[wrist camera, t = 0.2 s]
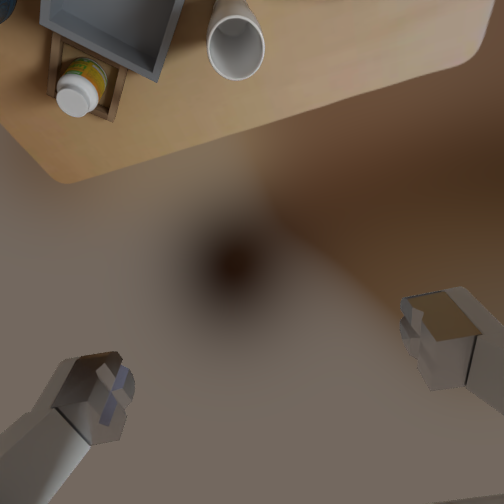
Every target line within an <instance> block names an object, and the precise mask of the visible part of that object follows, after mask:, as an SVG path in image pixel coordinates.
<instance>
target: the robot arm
mask: <svg viewBox="0 0 504 504" xmlns="http://www.w3.org/2000/svg"><path fill="white" fill-rule="evenodd" d="M400 309H401V311H402V312H403V314H404V317H403V318H402V319H401V320H400V333H401V337H402V341H403V343H404V345H405V348H406V350H407V351H408V353H409V355H411V356H412V357H414V358H416V359H417V360H418V367H417V369H418V371H419V372H420V374H421V376H422V378H423V379H424V381H425V383H426V384H427V386H428V388H429V390H430V391H435V390H442V389H449V388H458V387H465V386H466V389H468V390H469V391H470V392H472V393H473V394H475V395H476V396H477V397H479V398H480V399H482V400H483V401H484V402H486V403H487V404H489V405H490V406H491V407H493V408H495V409H496V410H497V411H499V412H500V413H501V414H503V415H504V326H503V325H501V323H500V322H499V321H498V320H497V319H496V318H495V317H494V316H493V315H492V314H491V313H490V312H489V311H488V310H487V309H486V308H485V307H484V306H483V305H482V304H481V303H480V302H479V301H478V300H476V298H475V297H474V296H473V295H472V294H471V293H470V292H469V291H468V290H467V289H466V288H463V287H455V288H450V289H445V290H441V291H435V292H430V293H425V294H420V295H415V296H409V297H404V298H402V300H401V305H400ZM122 360H123V359H122V357H121V356H120V354H119V353H118V352H116V351H115V352H114V351H112V352H105V353H98V354H92V355H85V356H81V357H75V358H69V359H65V360H63V361H62V362H60V364H59V365H58V367H57V369H56V370H55V372H54V374H53V375H52V377H51V379H50V380H49V382H48V384H47V385H46V387H45V389H44V390H43V392H42V394H41V395H40V397H39V399H38V400H37V402H36V404H35V405H34V407H33V409H32V411H31V412H28V413H25V414H24V415H22V416H21V417H20V418H19V419H18V420H17V421H15V422H14V423H13V424H12V425H11V426H10V427H8V428H7V429H6V430H5V431H4V432H3V433H2V434H0V504H47V503H48V502H49V501H50V500H51V498H52V497H53V496H54V495H55V493H56V492H57V491H58V489H59V488H60V487H61V485H62V484H63V483H64V481H65V480H66V479H67V478H68V476H69V475H70V474H71V472H72V471H73V470H74V469H75V467H76V466H77V465H78V463H79V462H80V461H81V459H82V458H83V457H84V456H85V454H86V453H87V452H88V450H89V449H90V448H91V447H90V446H91V445H97V444H101V443H107V442H112V441H118V440H120V437H121V434H122V431H123V427H124V425H125V421H126V418H127V415H126V413H125V408H126V407H127V406H128V405H129V404H130V403H131V402H132V399H133V395H134V391H135V381H134V378H133V374H132V373H131V371H130V369H128V368H126V367H124V366H122V365H121V363H122ZM427 504H504V494H497V495H489V496H482V497H474V498H467V499H458V500H451V501H443V502H436V503H427Z"/></svg>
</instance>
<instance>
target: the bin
mask: <svg viewBox="0 0 504 504" xmlns="http://www.w3.org/2000/svg"><path fill="white" fill-rule="evenodd" d="M184 1H185V0H41V7H40V21H39V24H40V25H42V26H44V27H46V28H48V29H50V30H52V31H54V32H56V33H58V34H60V35H62V36H64V37H66V38H68V39H70V40H72V41H74V42H76V43H78V44H80V45H82V46H84V47H86V48H88V49H90V50H92V51H94V52H96V53H98V54H100V55H102V56H104V57H106V58H108V59H110V60H112V61H114V62H116V63H118V64H120V65H122V66H124V67H126V68H128V69H130V70H132V71H134V72H136V73H138V74H140V75H142V76H144V77H146V78H148V79H150V80H152V81H154V82H156V83H157V82H158V79H159V76H160V73H161V70H162V67H163V64H164V61H165V58H166V55H167V52H168V49H169V46H170V43H171V40H172V37H173V34H174V31H175V28H176V25H177V22H178V19H179V16H180V13H181V10H182V7H183V4H184Z"/></svg>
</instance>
